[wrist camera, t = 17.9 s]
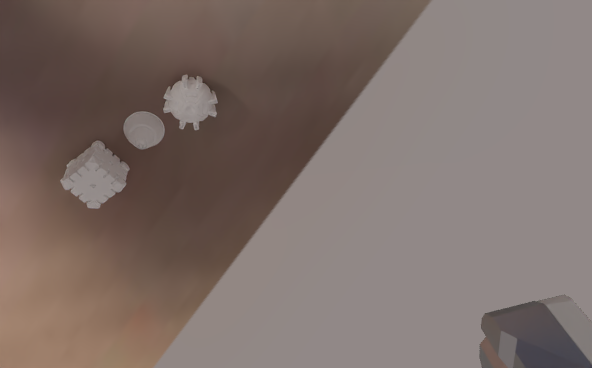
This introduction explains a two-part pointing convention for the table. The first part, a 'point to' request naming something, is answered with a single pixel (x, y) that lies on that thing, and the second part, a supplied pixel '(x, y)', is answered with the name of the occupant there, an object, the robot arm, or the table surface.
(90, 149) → the game pieces
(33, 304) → the table surface
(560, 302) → the robot arm
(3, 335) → the table surface
